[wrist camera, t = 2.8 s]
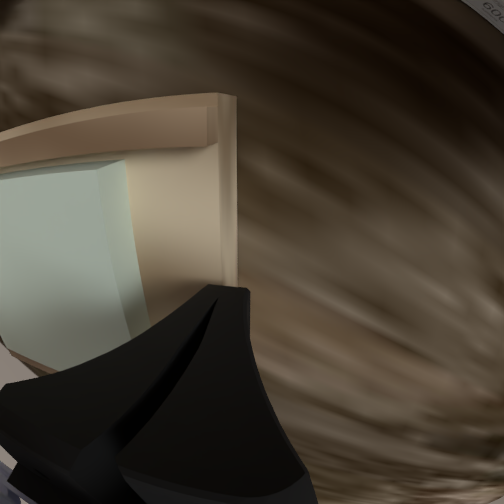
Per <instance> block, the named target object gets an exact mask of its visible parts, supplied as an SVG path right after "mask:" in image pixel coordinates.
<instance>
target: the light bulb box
mask: <svg viewBox="0 0 504 504" xmlns="http://www.w3.org/2000/svg"><path fill="white" fill-rule="evenodd" d="M461 1H463V2H464V3H466V4H467V5H468V6H470V7H471V8H472V9H474V10H475V11H476V12H478V13H479V14H480V15H481V16H483V17H484V18H485V19H486V20H488V21H489V22H490V23H491V24H493V25H494V26H495V27H496V28H497V29H498V30H499V31H501V32H502V33H503V34H504V0H461Z"/></svg>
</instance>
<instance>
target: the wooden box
mask: <svg viewBox="0 0 504 504" xmlns="http://www.w3.org/2000/svg"><path fill="white" fill-rule="evenodd" d="M120 159H125V167H126V177H127V187H128V196H129V205H130V213H131V220H132V227H133V234H134V241H135V247H136V253H137V259H138V265H139V271H140V276H141V282H142V287H143V292H144V297H145V302H146V306H147V311H148V316H149V320H150V324H151V327H152V326H153V325H155V324H156V323H158V322H159V321H161V320H162V319H164V318H165V317H166V316H168V315H169V314H171V313H172V312H173V311H174V310H176V309H177V308H178V307H180V306H181V305H182V304H184V303H185V302H186V301H187V300H189V299H190V298H191V297H192V296H194V295H195V294H196V293H197V292H199V291H200V290H201V289H202V288H204V287H205V286H206V285H208V284H212V285H222V286H232V287H238V248H237V96H232V95H227V94H222V93H201V94H187V95H175V96H165V97H156V98H148V99H141V100H134V101H127V102H121V103H115V104H109V105H103V106H98V107H93V108H88V109H83V110H79V111H74V112H70V113H66V114H62V115H58V116H54V117H50V118H46V119H42V120H39V121H35V122H32V123H28V124H25V125H22V126H19V127H16V128H12V129H9V130H6V131H4V132H1V133H0V174H3V173H8V172H14V171H20V170H27V169H34V168H41V167H48V166H56V165H65V164H74V163H84V162H94V161H106V160H120ZM8 350H9V351H10V353H11V355H12V356H14V357H15V358H17V359H19V360H22V361H24V362H26V363H28V364H30V365H32V366H34V367H37V368H39V369H41V370H43V371H46V372H48V373H50V374H53V373H56V372H59V371H57V370H55V369H52V368H50V367H48V366H45V365H43V364H40V363H38V362H36V361H34V360H31V359H29V358H27V357H25V356H23V355H20V354H18V353H16V352H14V351H12V350H10V349H8Z"/></svg>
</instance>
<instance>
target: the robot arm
mask: <svg viewBox="0 0 504 504" xmlns="http://www.w3.org/2000/svg"><path fill="white" fill-rule="evenodd" d="M0 445H1V446H2V447H3V448H4V449H5V450H6V451H7V452H8V453H9V454H10V455H11V456H12V457H13V458H14V459H15V460H16V461H17V462H18V463H17V464H16V466H15V468H14V469H13V470H12V469H10V468H9V467H8V466H6V465H5V464H4V463H2V462H1V461H0V504H21V501H20V498H22V499H23V500H24V501H26V502H27V503H29V504H318V501H317V498H316V494H315V491H314V488H313V485H312V482H311V479H310V475H309V472H308V470H307V468H306V467H305V465H304V464H303V462H302V461H301V459H300V458H299V456H298V454H297V453H296V451H295V449H294V448H293V446H292V444H291V443H290V441H289V439H288V437H287V436H286V434H285V432H284V430H283V428H282V426H281V424H280V423H279V420H278V418H277V416H276V414H275V412H274V410H273V407H272V405H271V403H270V401H269V399H268V396H267V394H266V391H265V389H264V386H263V383H262V381H261V378H260V375H259V372H258V369H257V365H256V362H255V358H254V354H253V350H252V346H251V341H250V291H249V290H248V289H247V288H242V287H232V286H222V285H212V284H208V285H206V286H205V287H204V288H202V289H201V290H200V291H199V292H197V293H196V294H195V295H194V296H192V297H191V298H190V299H189V300H187V301H186V302H185V303H184V304H182V305H181V306H180V307H178V308H177V309H176V310H174V311H173V312H172V313H171V314H169V315H168V316H166V317H165V318H164V319H162V320H161V321H159V322H158V323H156V324H155V325H153V326H152V327H150V328H149V329H147V330H146V331H145V332H143V333H141V334H140V335H138V336H137V337H135V338H133V339H131V340H130V341H128V342H126V343H124V344H122V345H121V346H119V347H117V348H115V349H113V350H111V351H109V352H107V353H105V354H102V355H100V356H98V357H96V358H93V359H91V360H89V361H86V362H84V363H82V364H79V365H77V366H74V367H71V368H68V369H65V370H62V371H59V372H56V373H53V374H49V375H46V376H42V377H38V378H33V379H29V380H24V381H19V382H14V383H8V384H5V385H4V387H3V388H2V389H1V390H0ZM19 497H20V498H19Z"/></svg>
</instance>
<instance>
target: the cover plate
mask: <svg viewBox="0 0 504 504" xmlns="http://www.w3.org/2000/svg"><path fill="white" fill-rule="evenodd" d="M150 327H151V324H150V320H149V316H148V311H147V306H146V302H145V297H144V292H143V287H142V282H141V276H140V271H139V265H138V259H137V253H136V247H135V241H134V234H133V227H132V220H131V213H130V205H129V196H128V187H127V177H126V167H125V159H120V160H106V161H94V162H84V163H74V164H65V165H56V166H48V167H41V168H34V169H27V170H20V171H14V172H8V173H3V174H0V336H1V338H2V340H3V341H4V343H5V345H6V347H7V348H8V349H10V350H12V351H14V352H16V353H18V354H20V355H23V356H25V357H27V358H29V359H31V360H34V361H36V362H38V363H40V364H43V365H45V366H48V367H50V368H52V369H55V370H57V371H62V370H65V369H68V368H71V367H74V366H77V365H79V364H82V363H84V362H86V361H89V360H91V359H93V358H96V357H98V356H100V355H102V354H105V353H107V352H109V351H111V350H113V349H115V348H117V347H119V346H121V345H122V344H124V343H126V342H128V341H130V340H131V339H133V338H135V337H137V336H138V335H140V334H141V333H143V332H145V331H146V330H147V329H149V328H150Z"/></svg>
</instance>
